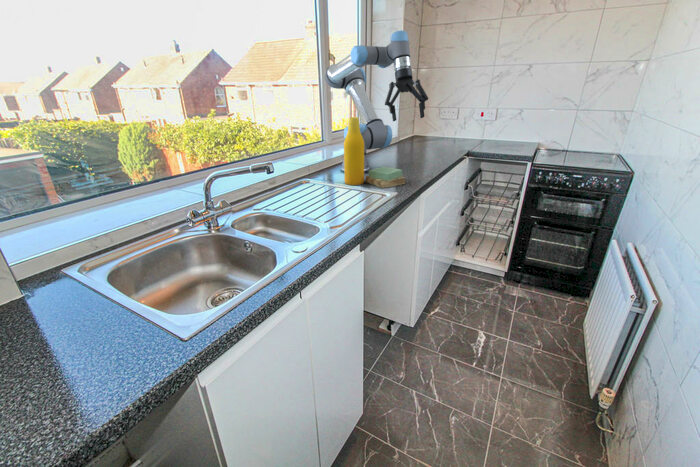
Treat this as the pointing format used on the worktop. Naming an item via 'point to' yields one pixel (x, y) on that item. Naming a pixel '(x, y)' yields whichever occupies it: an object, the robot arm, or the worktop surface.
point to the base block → (385, 183)
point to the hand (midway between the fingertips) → (408, 119)
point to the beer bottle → (354, 154)
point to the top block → (385, 173)
